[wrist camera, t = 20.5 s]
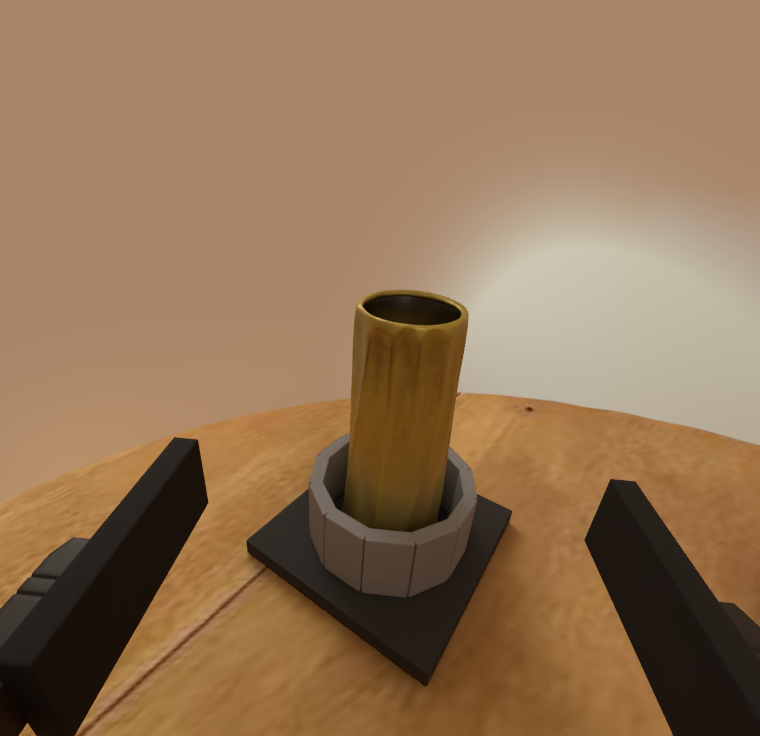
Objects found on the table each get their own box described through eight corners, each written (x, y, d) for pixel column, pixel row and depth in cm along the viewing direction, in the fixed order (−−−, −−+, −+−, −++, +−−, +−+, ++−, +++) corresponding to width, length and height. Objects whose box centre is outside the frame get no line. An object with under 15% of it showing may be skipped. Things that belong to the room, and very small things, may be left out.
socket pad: (247, 552, 24) (239, 488, 22) (365, 450, 34) (368, 398, 31) (425, 687, 19) (440, 621, 17) (509, 521, 28) (526, 463, 26)
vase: (325, 554, 24) (329, 318, 17) (353, 481, 29) (364, 280, 22) (432, 579, 23) (479, 340, 16) (441, 499, 28) (479, 295, 21)
